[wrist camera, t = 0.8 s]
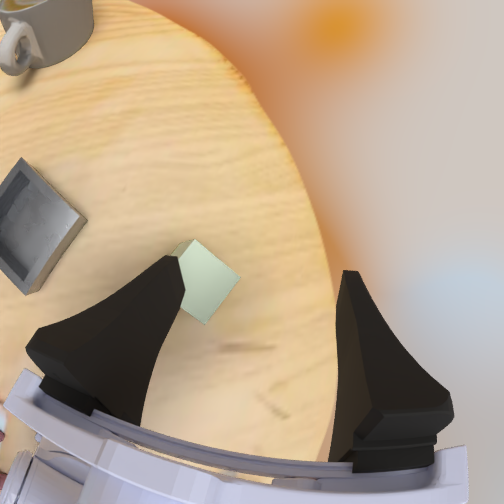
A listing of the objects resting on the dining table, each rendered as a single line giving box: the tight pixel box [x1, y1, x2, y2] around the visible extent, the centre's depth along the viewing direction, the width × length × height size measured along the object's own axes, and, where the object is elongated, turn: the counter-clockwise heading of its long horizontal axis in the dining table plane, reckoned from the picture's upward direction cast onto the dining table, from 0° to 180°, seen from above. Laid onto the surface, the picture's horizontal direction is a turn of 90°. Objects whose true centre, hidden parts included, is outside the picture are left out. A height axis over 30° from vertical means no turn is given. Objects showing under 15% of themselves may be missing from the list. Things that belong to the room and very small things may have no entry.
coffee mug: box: [0, 0, 94, 76], centre depth 15 cm, size 13×10×10 cm
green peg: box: [170, 239, 241, 325], centre depth 22 cm, size 4×4×8 cm
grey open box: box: [0, 157, 88, 296], centre depth 19 cm, size 8×8×4 cm
